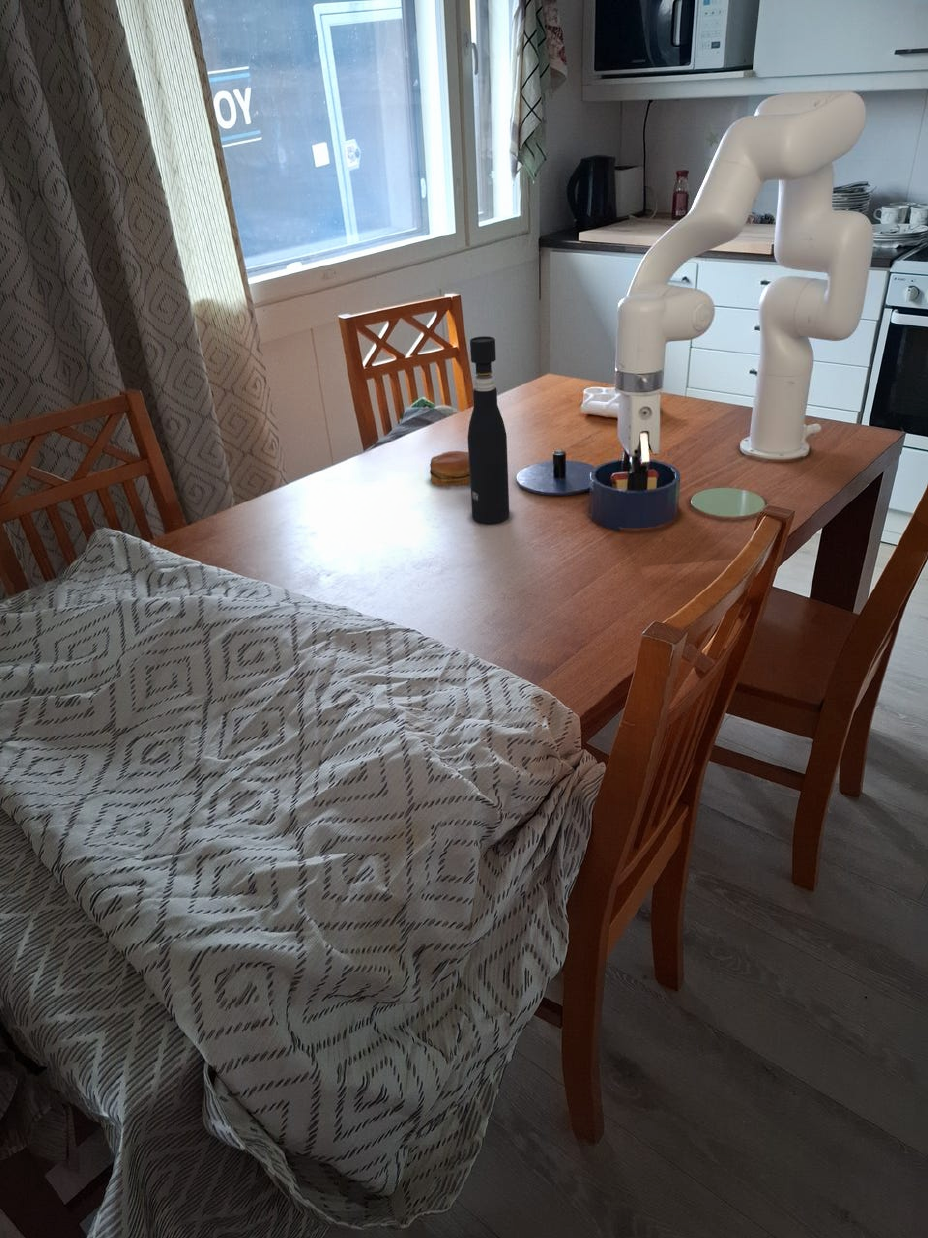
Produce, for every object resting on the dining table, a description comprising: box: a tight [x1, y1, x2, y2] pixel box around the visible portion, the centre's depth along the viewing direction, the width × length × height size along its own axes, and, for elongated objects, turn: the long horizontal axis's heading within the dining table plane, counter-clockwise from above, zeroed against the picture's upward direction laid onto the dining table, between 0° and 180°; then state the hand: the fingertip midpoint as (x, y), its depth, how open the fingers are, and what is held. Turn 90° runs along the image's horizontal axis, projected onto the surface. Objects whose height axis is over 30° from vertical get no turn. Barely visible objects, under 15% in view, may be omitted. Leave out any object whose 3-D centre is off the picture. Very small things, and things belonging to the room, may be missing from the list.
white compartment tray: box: [579, 386, 662, 419], centre depth 191 cm, size 3×18×15 cm
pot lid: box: [516, 450, 596, 496], centre depth 158 cm, size 16×16×6 cm
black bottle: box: [467, 335, 510, 526], centre depth 140 cm, size 6×6×30 cm
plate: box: [690, 487, 766, 518], centre depth 146 cm, size 12×12×1 cm
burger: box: [429, 450, 470, 488], centre depth 162 cm, size 10×9×5 cm
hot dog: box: [610, 470, 658, 490], centre depth 142 cm, size 8×4×3 cm, turn 94°
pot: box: [589, 458, 681, 532], centre depth 144 cm, size 15×15×7 cm
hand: (633, 488), depth 143 cm, fingers closed on hot dog, 3 cm apart
